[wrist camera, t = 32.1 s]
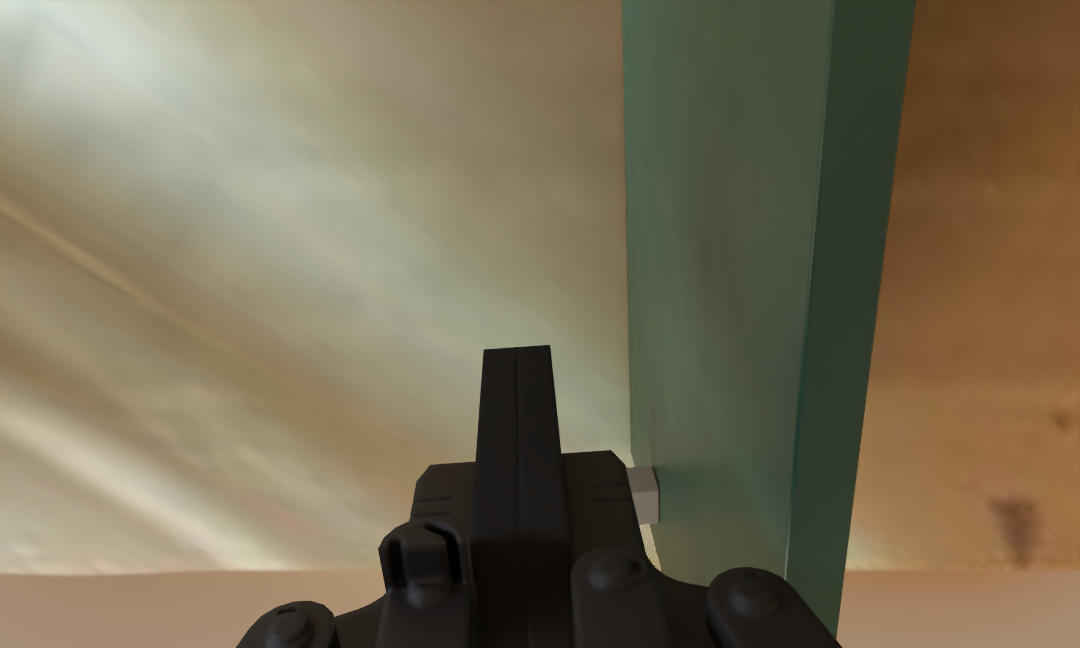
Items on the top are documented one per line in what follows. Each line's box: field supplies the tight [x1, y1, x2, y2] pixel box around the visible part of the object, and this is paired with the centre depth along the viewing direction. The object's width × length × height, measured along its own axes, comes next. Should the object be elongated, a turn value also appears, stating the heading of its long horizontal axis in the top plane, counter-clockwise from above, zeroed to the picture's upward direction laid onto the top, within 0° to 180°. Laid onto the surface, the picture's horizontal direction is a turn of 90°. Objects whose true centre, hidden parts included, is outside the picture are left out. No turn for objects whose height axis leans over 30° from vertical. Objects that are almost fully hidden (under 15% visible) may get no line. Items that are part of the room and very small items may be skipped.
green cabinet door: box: [622, 0, 916, 639], centre depth 20 cm, size 6×23×18 cm, turn 4°
